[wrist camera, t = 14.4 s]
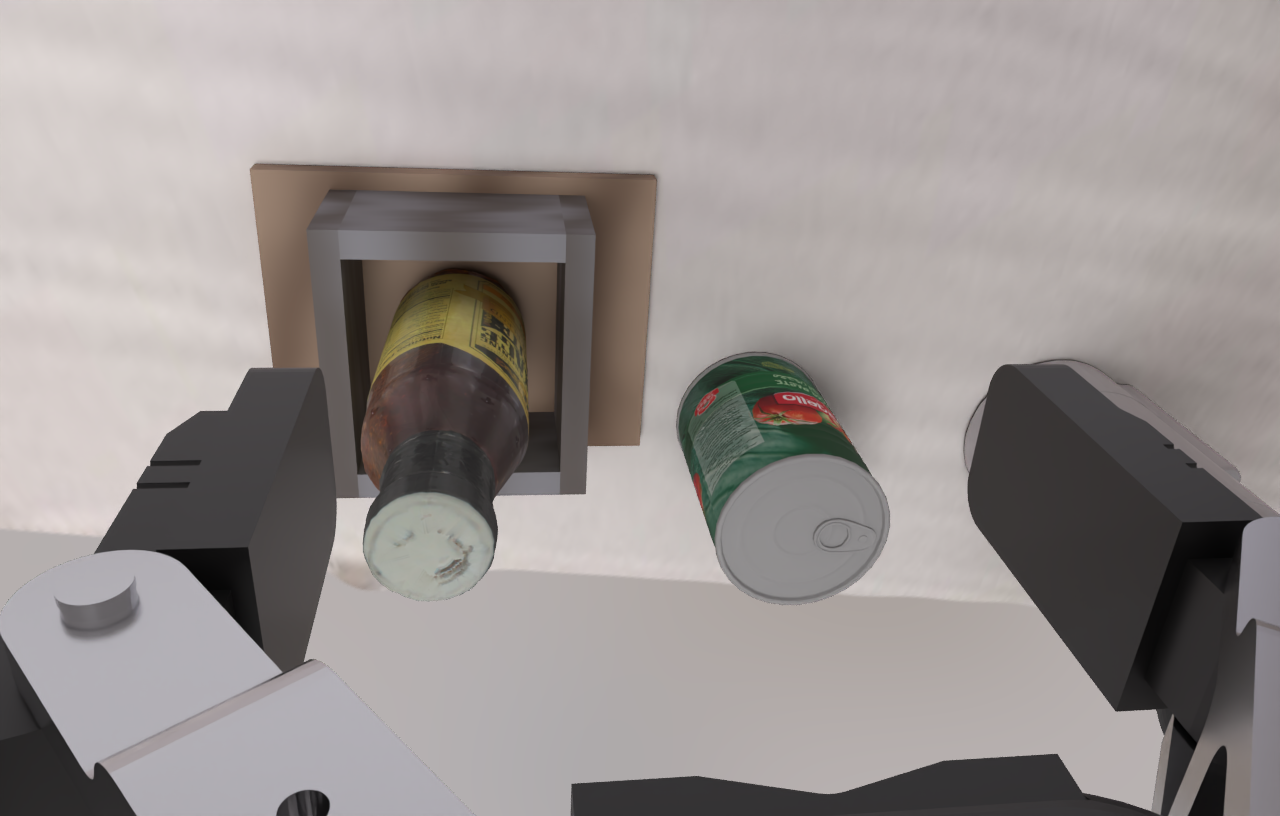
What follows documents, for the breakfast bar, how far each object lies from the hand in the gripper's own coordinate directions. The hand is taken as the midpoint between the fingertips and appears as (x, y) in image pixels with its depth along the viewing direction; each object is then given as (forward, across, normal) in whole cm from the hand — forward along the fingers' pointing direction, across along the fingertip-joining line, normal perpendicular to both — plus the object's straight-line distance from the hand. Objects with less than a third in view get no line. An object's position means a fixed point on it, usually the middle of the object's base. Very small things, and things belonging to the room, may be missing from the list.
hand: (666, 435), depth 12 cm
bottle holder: (+36, +4, +13) cm, 39 cm away
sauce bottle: (+35, +4, +13) cm, 38 cm away
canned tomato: (+36, -11, +19) cm, 42 cm away
